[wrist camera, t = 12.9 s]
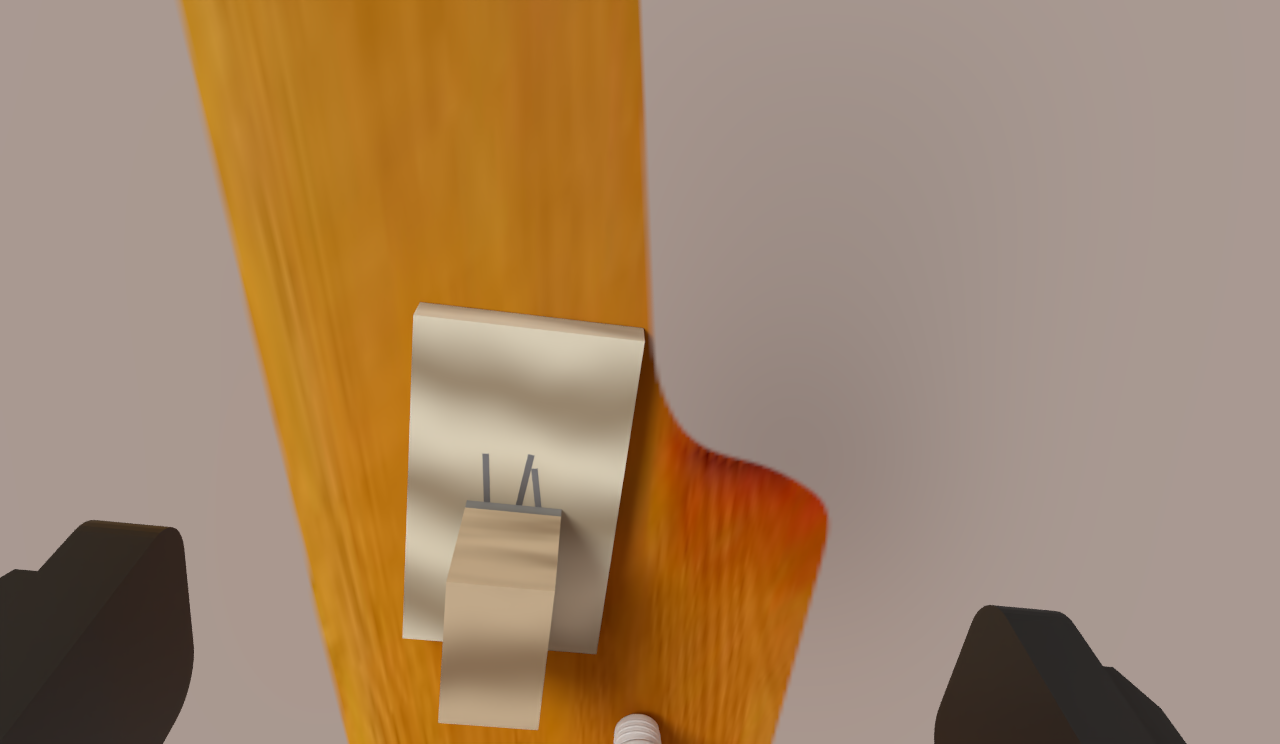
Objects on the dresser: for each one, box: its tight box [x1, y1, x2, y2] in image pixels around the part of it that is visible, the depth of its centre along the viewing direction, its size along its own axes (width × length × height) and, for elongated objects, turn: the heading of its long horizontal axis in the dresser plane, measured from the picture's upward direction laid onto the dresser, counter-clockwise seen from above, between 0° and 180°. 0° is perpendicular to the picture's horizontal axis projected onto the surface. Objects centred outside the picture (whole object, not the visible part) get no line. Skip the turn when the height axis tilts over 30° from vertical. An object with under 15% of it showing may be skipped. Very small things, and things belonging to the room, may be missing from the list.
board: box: [403, 302, 645, 654], centre depth 43 cm, size 18×10×2 cm, turn 172°
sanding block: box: [438, 500, 562, 730], centre depth 41 cm, size 8×4×6 cm, turn 172°
